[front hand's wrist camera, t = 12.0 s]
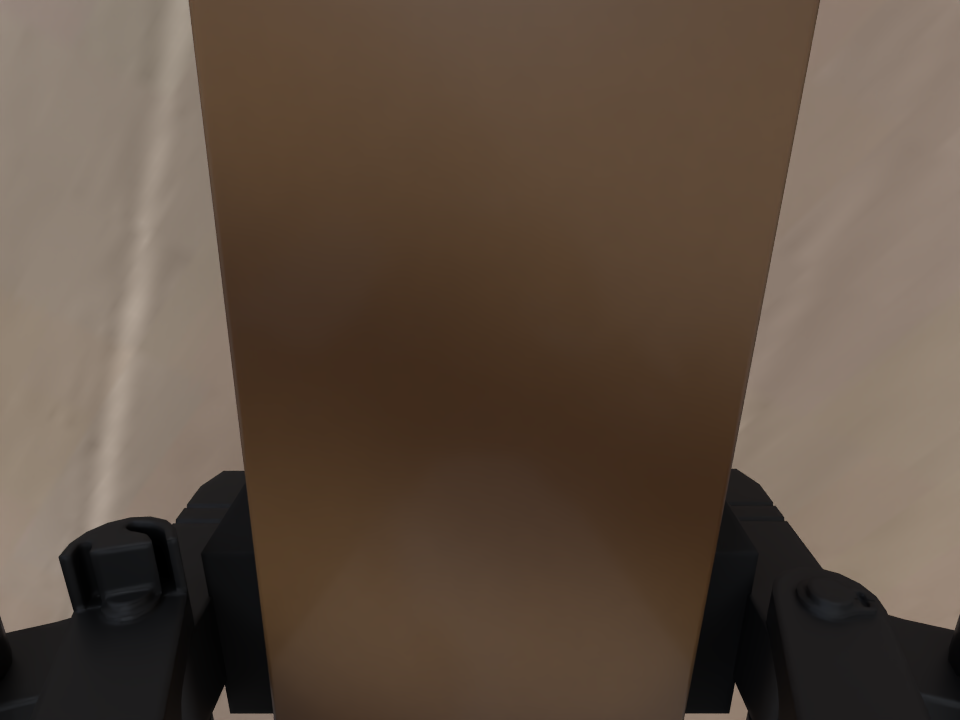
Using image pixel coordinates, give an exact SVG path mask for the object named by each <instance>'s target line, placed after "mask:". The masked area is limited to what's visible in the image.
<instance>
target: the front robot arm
mask: <svg viewBox="0 0 960 720" xmlns="http://www.w3.org/2000/svg"><path fill="white" fill-rule="evenodd" d="M59 561H60V564H61V568H62V571H63V575H64V578H65V582H66V586H67V589H68V593H69V596H70V600H71V603H72V607H73V610H74V612H73V615H72V617H71V618H69V619H65V620H62V621H58V622H54V623H50V624H45V625H41V626H36V627H32V628H27V629H22V630H18V631H13V632H9V633H6V632H5V629H4V626H3V623H2V620H1V617H0V720H214V718H213V713H212V712H213V710H214V708H215V705H216V703H217V701H218V699H219V696H220V694H221V692H222V690H223V687H224V685H225V687H226V693H227V698H228V703H229V709H230V713H273V706H272V697H271V689H270V681H269V672H268V664H267V655H266V647H265V639H264V630H263V622H262V613H261V605H260V596H259V588H258V580H257V571H256V563H255V554H254V546H253V538H252V529H251V521H250V512H249V504H248V496H247V487H246V479H245V471H223V472H221V473H220V474H218V475H217V476H215V477H214V478H212V479H211V480H209V481H208V482H207V483H205V484H204V485H202V486H201V487H200V488H199V489H198V491H197V492H196V493H195V495H194V496H193V497H192V499H191V500H190V501H189V503H188V504H187V508H184V509H183V511H182V512H181V513H180V515H179V516H178V518H177V519H176V523H173V524H171V523H169V522H168V521H167V520H164V519H159V518H155V517H131V518H126V519H122V520H118V521H114V522H109V523H106V524H104V525H102V526H99V527H97V528H95V529H92V530H90V531H88V532H86V533H84V534H83V535H82V536H80V537H79V538H77V539H76V540H74V541H73V542H71V543H70V544H69V545H68V546H67V547H66V549H65V550H64V551H63V552H62V553H61V555H60V556H59ZM735 683H736V685H737V687H738V690H739V692H740V694H741V696H742V699H743V701H744V703H745V705H746V708H747V710H748V713H747V718H746V720H960V616H959V619H958V622H957V625H956V628H955V630H950V629H946V628H941V627H937V626H932V625H927V624H923V623H918V622H914V621H909V620H904V619H901V618H897V617H894V616H890V615H888V614H887V611H886V610H885V608H884V607H883V605H882V604H881V602H880V601H879V600H878V598H877V597H876V596H875V595H874V594H872V593H871V592H870V591H869V590H867V589H866V588H865V587H864V586H862V585H861V584H860V583H858V582H855V581H853V580H851V579H849V578H847V577H845V576H843V575H841V574H839V573H835V572H831V571H828V570H824V569H822V567H821V566H820V565H819V563H818V562H817V561H816V559H815V558H814V557H813V555H812V554H811V553H810V551H809V550H808V549H807V547H806V546H805V545H804V543H803V542H802V541H801V539H800V538H799V537H798V535H797V534H796V533H795V531H794V530H793V529H792V527H791V526H790V525H789V523H788V522H787V521H784V517H783V515H782V514H781V512H780V511H779V510H778V508H777V507H776V506H773V502H772V500H771V499H770V498H769V496H768V495H767V494H766V492H765V491H764V490H763V488H762V487H761V486H760V484H758V483H757V482H755V481H754V480H752V479H751V478H749V477H748V476H746V475H745V474H743V473H742V472H740V471H739V470H737V469H731V473H730V478H729V483H728V489H727V494H726V499H725V504H724V510H723V515H722V520H721V525H720V531H719V536H718V541H717V547H716V552H715V557H714V562H713V568H712V573H711V578H710V584H709V589H708V594H707V599H706V605H705V610H704V615H703V620H702V626H701V631H700V636H699V642H698V647H697V652H696V657H695V663H694V668H693V673H692V679H691V684H690V689H689V694H688V700H687V705H686V710H685V713H729V712H730V707H731V701H732V696H733V690H734V685H735Z"/></svg>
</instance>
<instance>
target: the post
mask: <svg viewBox="0 0 960 720" xmlns="http://www.w3.org/2000/svg"><path fill="white" fill-rule="evenodd" d="M819 3H820V0H189V7H190V16H191V24H192V33H193V41H194V50H195V58H196V66H197V75H198V83H199V92H200V100H201V108H202V117H203V125H204V134H205V142H206V151H207V159H208V167H209V176H210V184H211V193H212V201H213V209H214V218H215V226H216V235H217V243H218V251H219V260H220V268H221V277H222V285H223V294H224V302H225V310H226V319H227V327H228V336H229V344H230V352H231V361H232V369H233V378H234V386H235V395H236V403H237V411H238V420H239V428H240V437H241V445H242V453H243V462H244V470H245V479H246V487H247V496H248V504H249V512H250V521H251V529H252V538H253V546H254V554H255V563H256V571H257V580H258V588H259V596H260V605H261V613H262V622H263V630H264V639H265V647H266V655H267V664H268V672H269V681H270V689H271V697H272V706H273V714H274V720H684V715H685V710H686V705H687V700H688V694H689V689H690V684H691V679H692V673H693V668H694V663H695V657H696V652H697V647H698V642H699V636H700V631H701V626H702V620H703V615H704V610H705V605H706V599H707V594H708V589H709V584H710V578H711V573H712V568H713V562H714V557H715V552H716V547H717V541H718V536H719V531H720V525H721V520H722V515H723V510H724V504H725V499H726V494H727V489H728V483H729V478H730V473H731V467H732V462H733V457H734V452H735V446H736V441H737V436H738V430H739V425H740V420H741V415H742V409H743V404H744V399H745V393H746V388H747V383H748V378H749V372H750V367H751V362H752V357H753V351H754V346H755V341H756V335H757V330H758V325H759V320H760V314H761V309H762V304H763V298H764V293H765V288H766V283H767V277H768V272H769V267H770V262H771V256H772V251H773V246H774V240H775V235H776V230H777V225H778V219H779V214H780V209H781V203H782V198H783V193H784V188H785V182H786V177H787V172H788V167H789V161H790V156H791V151H792V145H793V140H794V135H795V130H796V124H797V119H798V114H799V108H800V103H801V98H802V93H803V87H804V82H805V77H806V72H807V66H808V61H809V56H810V50H811V45H812V40H813V35H814V29H815V24H816V19H817V13H818V8H819Z"/></svg>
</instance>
